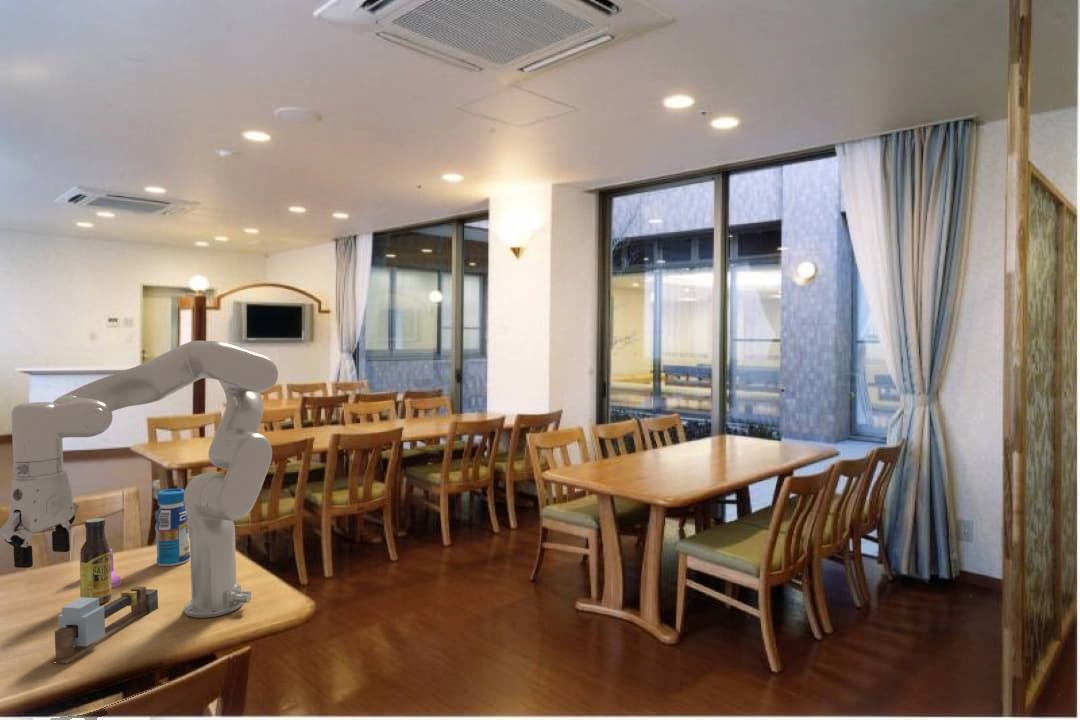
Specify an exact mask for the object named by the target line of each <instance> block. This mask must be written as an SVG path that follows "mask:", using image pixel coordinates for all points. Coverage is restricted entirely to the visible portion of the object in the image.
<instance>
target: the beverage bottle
mask: <svg viewBox="0 0 1080 720" xmlns="http://www.w3.org/2000/svg"><path fill="white" fill-rule="evenodd" d="M184 493H185V489H183V488H169V489H164V490H160V491H158V493H157V494H156V495H157V505H158V506H159V507H158V509H157V510H156V514H155V517H154V518H155V520H156V523H155V525H154V530H155V536H156V539H155V540H156V564H157V565H158V566H160V567H174V566H179V565H182V564H185V563H187V562H188V561H190V532H189V523H188V517H187V513H186V509H185V503H184Z"/></svg>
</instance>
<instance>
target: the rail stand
mask: <svg viewBox="0 0 1080 720" xmlns="http://www.w3.org/2000/svg"><path fill="white" fill-rule="evenodd" d="M146 587H147V586H140V585H137V586H134V587H132V588H131V589H130V590H123V591H121V592H120V597H118V598H116V599H114V600H112V601H110V602H109V603H107V604H105V605H103V607H104V617H105V620H106V619H107V618H110V617H111V616H113V615H114V614H116V613H118V612H119V611H121V610H123V609H125V608H126V607H130V610H131V611H130V612H128V613H127V614H125V615H124V616H122V617H120V618H119V619H117V620H115V621H114V622H112V623H110V624H109V625H107V626H105V635H104V636H103V637H101V638H99V639H98V640H96V641H95V642H93V643H91V644H90V645H88V646H74V637H75V636H77V635H78V625H70V626H68V627H66V628H60V629H59V630H58V629H57V630H54V646H55V650H54V651H55V652H54V653H55V657H54V658H53V659H52V663H53V662H56V663H66V664H65V665H68V664H70V663H71V662H73V661H74V660H76V659H78V658H79V657H81V656H82V655H83V654H85V653H87V652H89V651H90V650H92V649H93V648H95V647H96V646H98V645H100V644H101V643H103V642H104V641H106V640H107V639H109V638H110V637H112V636H114V635H116V634H118V632H120V631H122V630H124V629H125V628H127V627H128V626H130V625H131V624H132V623H135V622H137V620H139V619H141V618H142V617H144V616H145V615H148V614H151V613H152V612H155V611H157V609H159V598H158V597H159V596H158V592H159V591H158V589H152V588H151V589H149V588H146ZM69 662H70V663H69ZM67 663H68V664H67Z"/></svg>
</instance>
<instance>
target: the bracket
mask: <svg viewBox="0 0 1080 720" xmlns="http://www.w3.org/2000/svg"><path fill="white" fill-rule="evenodd" d="M109 549H110V551H111V589H113V588H116V587H118V586H120V584H121V582H122V581H121V577H120V576H119V575H118V574H117V573H116V572H115V570H114V555H113V549H112V548H110V547H109Z"/></svg>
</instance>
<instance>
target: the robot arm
mask: <svg viewBox="0 0 1080 720" xmlns="http://www.w3.org/2000/svg"><path fill="white" fill-rule="evenodd" d="M202 379H209V380H210V379H212V380H217V381H218V382H219V384H220V385H221V387H222V389H223V391H224V394H225V401H226V404H225V410H224V413H223V414H222V415H223V416H222V418H221V421H220V423H219V425H218V427H217V429H216V432H215V434H214V435H213V439H212V442H211V443H210V446H209V449H208V459H209V461H210V463H211V464H212V465H213V466H215V467H216V468H219V469H222V470H226V474H220V473H216V472H215V473H214V472H206V473H205V472H204V473H201V474H198V475H196V476H195V477H193V478H192V479H190V481H189V483H188V484H187V485H186V486H185V489H184V490H185V493H184V503H183V504H184V505H185V509H186V513H187V518H188V523H189V549H190V559H189V561H190V585H191V586H190V587H191V599H190V600H189V601H187V603H185V606H184V614H185V615H187V616H188V617H192V618H197V619H199V618H200V619H204V618H206V619H208V618H214V617H220V616H223V615H226V614H227V615H228V614H229V613H232V612H234V611H237V610H238V609H239V608H241V607H242V606H243V605H244V604H249V603H250V602H251V600H252V591H251V590H242V585H241V583H237V567H236V565H237V564H236V563H237V562H236V560H237V559H236V531H235V530H236V529H235V522H234V521H240V520H241V519H243V518H245V517H246V516H248V514H249V513H250V512H251V511H252V509H253V507H254V505H255V504H256V502H257V500H258V496H259V495H260V492H261V490H262V487H263V485H264V481H265V479H266V476H267V474H268V471H269V469H270V466H271V464H272V460H273V447H272V444H271V443H270V440H269V439H268V438H267V437H265V435H263V434H260V433H259V432H258V431H259V428H260V426H261V422H262V419H263V415H264V401H263V398H262V394H261V393H264V392H267V391H269V390H271V389H272V388H273V387H275V384H276V383H277V381H278V379H279V371H278V367H277V365H276V363H275V362H274V361H273V360H272V359H270V358H269V357H267V356H265V355H262V354H260V353H257V352H253V351H249V350H247V349H244V348H240V347H239V346H235V345H232V344H229V343H225V342H222V341H220V340H219V341H217V340H192V341H188V342H185V343H183V344H181V345H179V346H177V347H175V348H173V349H171V350H168V351H166V352H164V353H162V354H160V355H158V356H156V357H154V358H151V359H150V360H147V361H146V362H143V363H140V364H138V365H136V366H133V367H131V368H126V369H125V370H121V371H118V372H117V373H116V372H115V373H114V374H110V375H108V376H105V377H102V378H99V379H96V380H94V381H90V382H88V383H86V384H84V385H81V386H80V387H77V388H76V389H73V390H71V391H69V392H67V393H65V394H62V395H61V396H59V397H57V398H56V399H55V400H53V401H52V402H50V401H38V402H26V403H20V404H17V405H15V406H14V407H13V408H12V410H11V434H12V437H11V438H12V456H13V457H12V458H13V459H12V460H13V468H12V469H11V474H12V475H13V478H14V479H12V482H11V488H10V492H9V493H10V494H9V495H10V496H9V507H8V508H9V509H8V512H9V513H8V514H9V515H8V516H9V517H8V519H7V520H6V522H5V523H4V524H3V525H1V526H2V527H0V536H1V537H2V538H3V539H4V541H5V542H6V543H7V544H8V545H9V546H10V547H11V548H13V565H14V568H20V569H21V568H23V569H30V568H32V567H33V565H34V563H33V562H34V561H33V560H34V559H33V547H32V545H30V542H31V540H32V538H33V536H34V533H39V532H42V531H45V530H49V529H51V528H53V529H54V530H53V531H51V541H52V542H51V544H52V552H55V553H67V552H70V550H71V546H70V545H71V543H70V542H71V541H70V531H71V530H73V529H72V528H73V526H72V524H73V522H74V521H75V519H76V515H77V512H78V510H79V505H78V504H76V503H75V502H74V500H73V491H72V486H71V480H70V478H69V474H68V471H67V470H65V469H64V451H63V449H64V447H63V445H64V444H63V439H65V438H92V437H95V436H99V435H101V434H103V433H104V432H105V431H107V429H109V427H110V426H111V425H112V422H113V412H114V411H117V410H120V409H123V408H124V409H125V408H128V407H132V406H133V407H134V406H140V405H146V404H151V403H155V402H159V401H161V400H164V399H165V398H167V397H168V396H171V395H172V394H174V393H176V392H178V391H179V390H182V389H184V388H186V387H187V386H189V385H191V384H193V383H195V382H197V381H199V380H202ZM23 535H24V536H23ZM22 536H23V537H22Z"/></svg>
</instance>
